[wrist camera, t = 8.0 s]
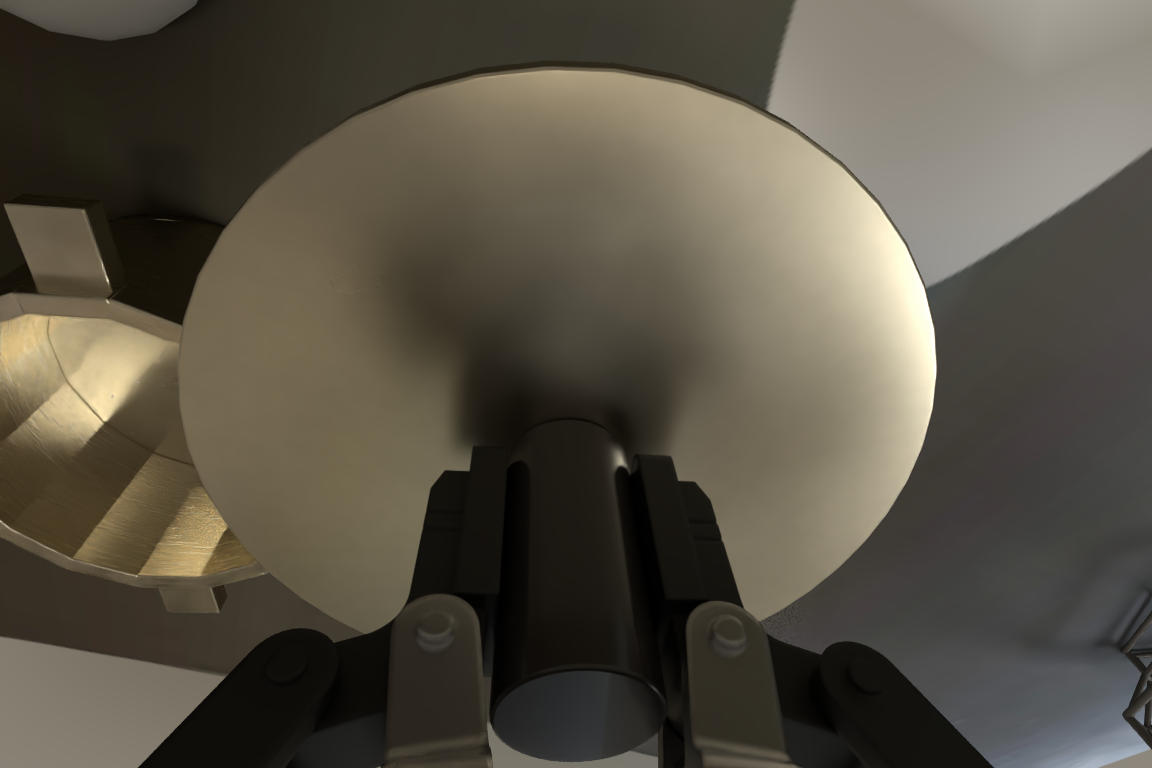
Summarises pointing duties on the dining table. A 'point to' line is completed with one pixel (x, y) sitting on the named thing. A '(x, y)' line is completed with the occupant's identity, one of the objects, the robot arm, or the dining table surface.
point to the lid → (557, 363)
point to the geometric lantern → (1140, 687)
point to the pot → (106, 403)
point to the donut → (99, 16)
